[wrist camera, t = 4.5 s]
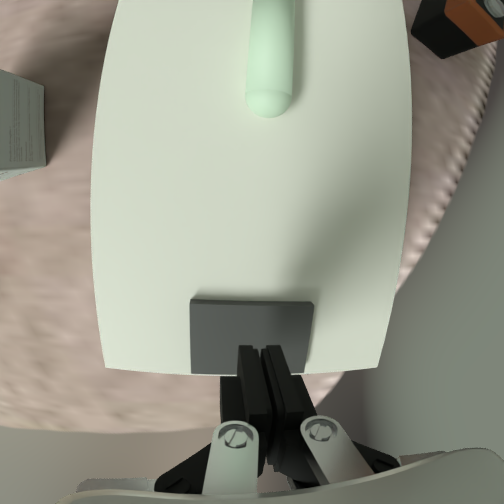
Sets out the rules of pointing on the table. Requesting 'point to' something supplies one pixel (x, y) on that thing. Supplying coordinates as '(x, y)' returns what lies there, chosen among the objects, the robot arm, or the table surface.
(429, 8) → the battery
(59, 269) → the table surface
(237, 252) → the level plate
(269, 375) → the robot arm
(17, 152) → the supplement box
